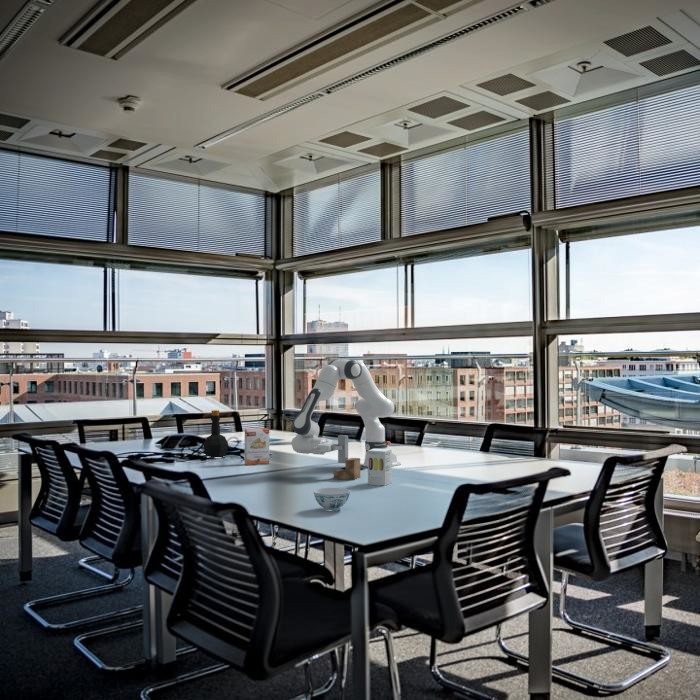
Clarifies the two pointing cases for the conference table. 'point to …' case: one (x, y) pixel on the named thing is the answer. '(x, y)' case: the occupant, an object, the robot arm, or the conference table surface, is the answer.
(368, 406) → the robot arm
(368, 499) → the conference table surface
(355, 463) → the brown l-shaped block
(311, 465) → the conference table surface
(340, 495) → the chinaware
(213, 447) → the bottle
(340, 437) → the grey tall block
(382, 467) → the supplement box
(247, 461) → the cracker box
